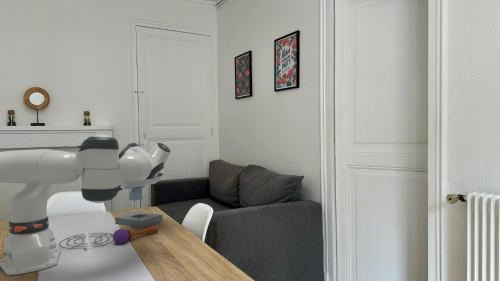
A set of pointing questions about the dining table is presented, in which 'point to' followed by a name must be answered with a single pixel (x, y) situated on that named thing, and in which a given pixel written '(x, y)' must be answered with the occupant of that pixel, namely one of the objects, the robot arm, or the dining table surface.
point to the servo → (136, 194)
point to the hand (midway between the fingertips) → (134, 190)
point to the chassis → (138, 219)
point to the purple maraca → (131, 234)
